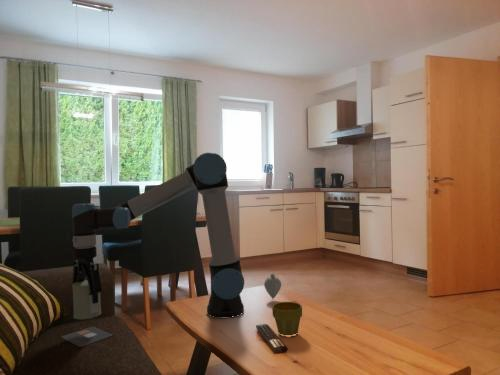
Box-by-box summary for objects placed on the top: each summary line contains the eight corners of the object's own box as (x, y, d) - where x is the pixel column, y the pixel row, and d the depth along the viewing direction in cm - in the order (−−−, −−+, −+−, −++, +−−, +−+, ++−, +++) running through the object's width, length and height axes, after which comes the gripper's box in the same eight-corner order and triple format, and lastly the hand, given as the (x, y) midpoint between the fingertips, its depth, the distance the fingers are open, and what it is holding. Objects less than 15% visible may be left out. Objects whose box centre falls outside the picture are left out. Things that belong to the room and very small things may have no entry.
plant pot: (267, 331, 133) (266, 304, 133) (291, 326, 137) (291, 299, 137) (283, 342, 123) (282, 312, 123) (308, 336, 128) (308, 307, 128)
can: (91, 320, 129) (89, 285, 128) (67, 319, 130) (66, 284, 130) (106, 310, 138) (105, 278, 137) (84, 310, 139) (83, 278, 139)
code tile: (113, 335, 132) (113, 334, 132) (80, 347, 123) (80, 346, 123) (93, 326, 141) (93, 326, 141) (60, 337, 132) (60, 336, 132)
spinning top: (276, 304, 163) (276, 276, 163) (261, 301, 167) (260, 274, 167) (284, 299, 170) (284, 272, 170) (269, 296, 174) (269, 271, 174)
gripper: (60, 246, 138) (62, 307, 138) (90, 250, 124) (93, 318, 124) (80, 243, 143) (82, 301, 144) (111, 247, 130) (113, 312, 130)
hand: (87, 309), depth 134 cm, fingers closed on can, 9 cm apart
